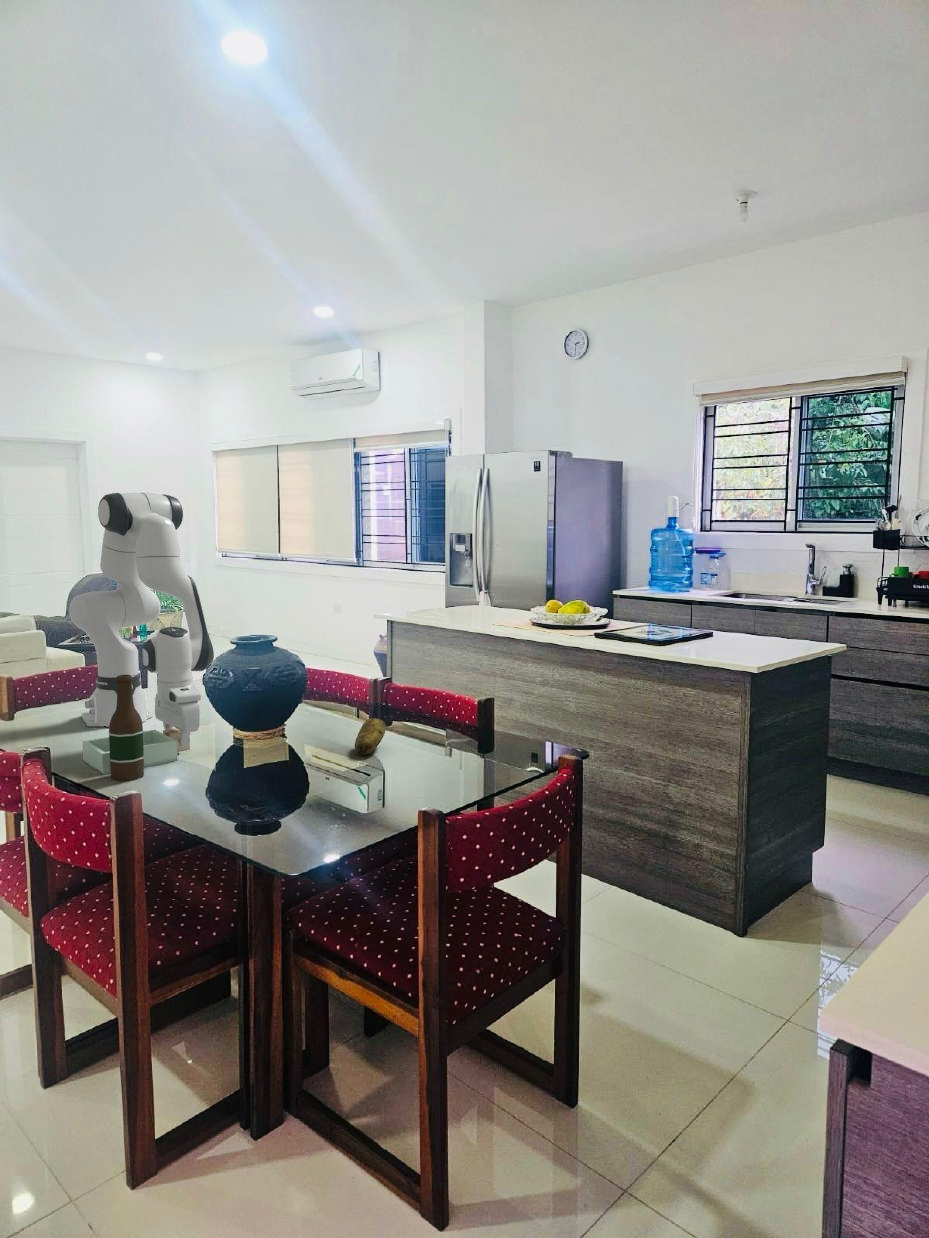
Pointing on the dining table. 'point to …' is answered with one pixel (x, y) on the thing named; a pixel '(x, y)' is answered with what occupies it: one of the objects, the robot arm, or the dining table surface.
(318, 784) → the dining table surface
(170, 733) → the beech cube
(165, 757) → the tote
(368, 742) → the potato
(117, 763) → the beer bottle
